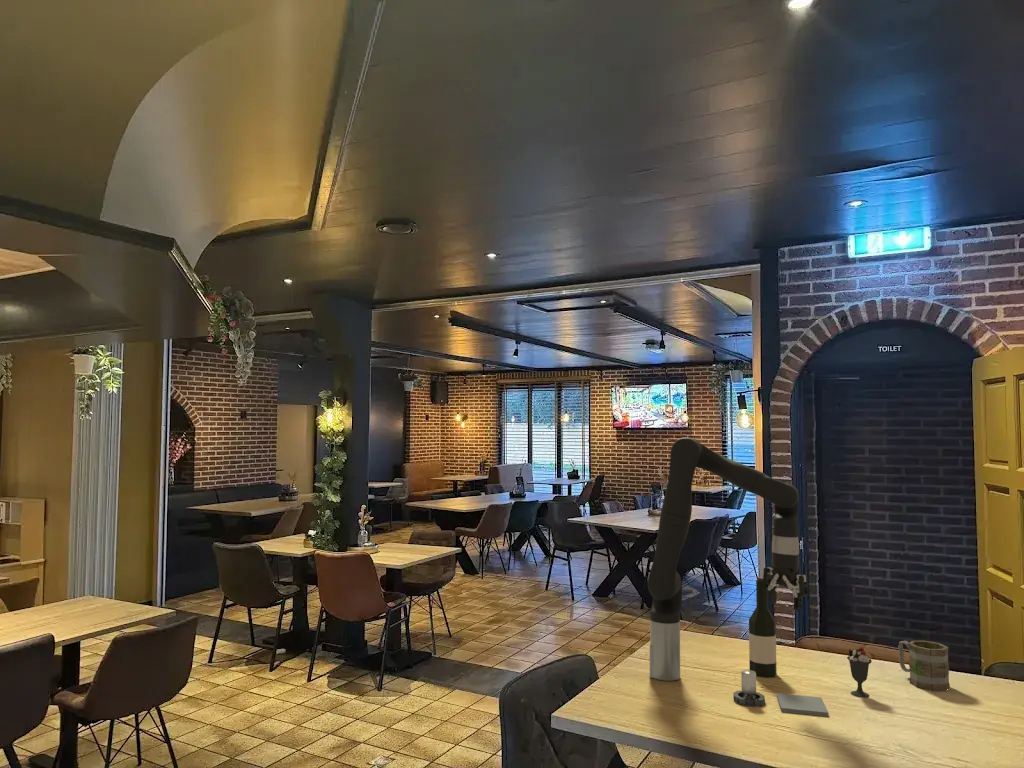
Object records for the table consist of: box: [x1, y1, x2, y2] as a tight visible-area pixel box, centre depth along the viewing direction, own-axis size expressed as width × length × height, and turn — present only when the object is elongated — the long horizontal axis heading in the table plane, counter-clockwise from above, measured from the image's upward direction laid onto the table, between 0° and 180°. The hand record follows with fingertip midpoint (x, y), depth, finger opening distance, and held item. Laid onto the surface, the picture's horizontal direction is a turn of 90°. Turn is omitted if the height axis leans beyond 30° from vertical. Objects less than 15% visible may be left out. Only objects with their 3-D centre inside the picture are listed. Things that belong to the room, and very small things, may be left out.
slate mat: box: [776, 692, 829, 717], centre depth 200 cm, size 12×12×1 cm
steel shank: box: [740, 669, 757, 700], centre depth 204 cm, size 4×4×8 cm
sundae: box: [846, 643, 872, 698], centre depth 211 cm, size 7×7×15 cm
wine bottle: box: [748, 576, 778, 679], centre depth 230 cm, size 8×8×30 cm
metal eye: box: [732, 690, 766, 708], centre depth 204 cm, size 8×8×2 cm
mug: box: [897, 640, 951, 692], centre depth 222 cm, size 16×11×12 cm
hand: (784, 606), depth 212 cm, fingers open, 8 cm apart
